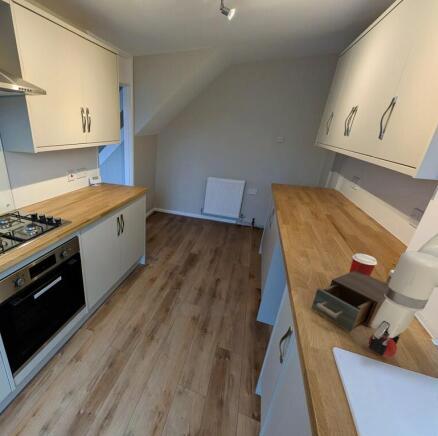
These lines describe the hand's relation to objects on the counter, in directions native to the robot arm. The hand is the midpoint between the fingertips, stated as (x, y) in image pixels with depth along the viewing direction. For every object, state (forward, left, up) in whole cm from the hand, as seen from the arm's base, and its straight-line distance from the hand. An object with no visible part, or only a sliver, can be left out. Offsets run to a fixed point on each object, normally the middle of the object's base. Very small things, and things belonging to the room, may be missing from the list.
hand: (381, 347), depth 69 cm
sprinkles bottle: (+11, -32, -3) cm, 34 cm away
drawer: (+14, -6, -2) cm, 15 cm away
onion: (0, 0, -3) cm, 3 cm away
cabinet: (+14, -18, -3) cm, 23 cm away
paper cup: (+22, -33, -3) cm, 40 cm away
